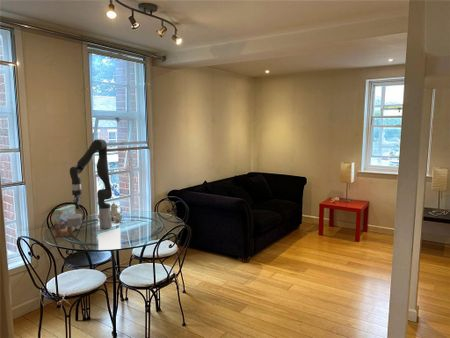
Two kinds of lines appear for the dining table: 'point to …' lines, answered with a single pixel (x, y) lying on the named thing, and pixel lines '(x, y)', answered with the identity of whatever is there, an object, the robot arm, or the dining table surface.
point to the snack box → (63, 214)
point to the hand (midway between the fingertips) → (77, 208)
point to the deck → (58, 234)
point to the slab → (74, 219)
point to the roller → (64, 231)
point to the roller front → (72, 228)
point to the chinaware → (115, 213)
